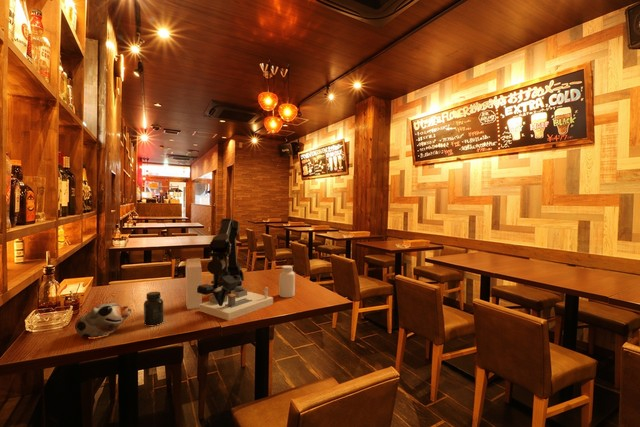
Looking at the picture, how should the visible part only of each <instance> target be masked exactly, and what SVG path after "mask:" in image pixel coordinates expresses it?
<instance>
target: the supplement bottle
mask: <svg viewBox="0 0 640 427" xmlns="http://www.w3.org/2000/svg"><path fill="white" fill-rule="evenodd" d="M161 297H162V296H161V292H160V291H149V292H148V293H146V300H145V301H144V302H143V324H144V325H145V324H146V325H156V326H158V325H157V324H159V325H161V324H163V323H162V322H164V300H163V299H162V298H161ZM160 323H161V324H160ZM146 325H145V326H146Z"/></svg>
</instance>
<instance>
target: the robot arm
mask: <svg viewBox="0 0 640 427" xmlns="http://www.w3.org/2000/svg"><path fill="white" fill-rule="evenodd" d="M219 224H220V225H219V226H220V227H219V231H218V233H217V234H216V235H215V236H213V238H212V239H211V241H210V242H209V248H208V254H207V257H210V258H211V259H210V261H208V263H207V266H206V267H207V271H208V272H209V273H210V274H211V275H212V277H213V278H212V280H211V281H210V282H211V284H208V283H204V284H202V285H199V286H198V288H197V293H200V294H202V295H208V296H209V295H211V294H212V296H215V298H216V300H217V302H218V304H219V306H222V305H223V302H224V299H225V296H227V295H228V294H231V291H232V290H235V288H236V287H237V286H243V282H244V281H245V276H244V272H243V269H242V266H241V264H240V263H239V262H238V252H237V237H238V234H239V231H240V229H241V227H240V222H239V221H238V220H234V218H230V217H229V218H227V217H226V218H224V217H223V218H221V221H220V223H219Z"/></svg>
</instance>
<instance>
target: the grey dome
mask: <svg viewBox="0 0 640 427" xmlns="http://www.w3.org/2000/svg"><path fill="white" fill-rule="evenodd" d="M243 289H244V286H243V285H241V286H237V287H236V288H235V292H241V291H243Z"/></svg>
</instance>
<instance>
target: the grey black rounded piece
mask: <svg viewBox="0 0 640 427" xmlns="http://www.w3.org/2000/svg"><path fill="white" fill-rule="evenodd" d="M131 312H132V309H131V308H130V307H129V306H127V305H126V306H125V305H124V306H121V305H120V304H118V303H117V302H109V303H106V302H105V303H103V304H102V303H101V304H99V305H97V306H96V307H92V309H91V310H90V311H89V312H87V314H86V315H82V316H80V317H79V318H77V320H76V322H75V324H74V329H75V331H76V333H77V334H78V335H79V336H80V337H82V338H87V337H98V336H103V335H107V334H110V333H111V334H112V333H114V332H115V330H116V329H117V328H118V327H119V326H120V325H121V324H122V323H123V322H124V320H126V319H127V318H128V317H129V316H130V315H131ZM111 334H110V335H111Z"/></svg>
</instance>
